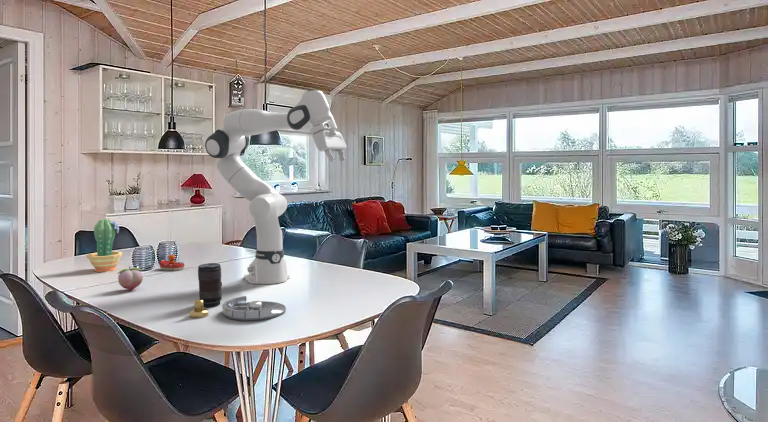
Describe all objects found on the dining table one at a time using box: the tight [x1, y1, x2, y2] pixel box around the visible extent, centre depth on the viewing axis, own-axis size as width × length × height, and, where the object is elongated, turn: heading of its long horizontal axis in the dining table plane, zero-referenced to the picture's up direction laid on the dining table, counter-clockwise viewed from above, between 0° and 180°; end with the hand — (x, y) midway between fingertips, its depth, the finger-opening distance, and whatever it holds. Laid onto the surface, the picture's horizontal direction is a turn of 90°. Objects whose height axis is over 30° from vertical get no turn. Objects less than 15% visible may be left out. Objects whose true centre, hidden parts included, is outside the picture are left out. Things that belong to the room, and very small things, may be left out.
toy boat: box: [159, 254, 185, 272], centre depth 252 cm, size 8×12×8 cm, turn 82°
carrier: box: [221, 295, 287, 322], centre depth 180 cm, size 22×22×3 cm
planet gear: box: [189, 298, 209, 319], centre depth 175 cm, size 6×6×6 cm
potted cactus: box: [86, 218, 123, 273], centre depth 249 cm, size 15×15×25 cm
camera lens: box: [197, 262, 223, 308], centre depth 189 cm, size 8×8×15 cm
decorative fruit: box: [117, 266, 144, 291], centre depth 210 cm, size 9×8×10 cm
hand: (338, 161), depth 202 cm, fingers open, 8 cm apart
